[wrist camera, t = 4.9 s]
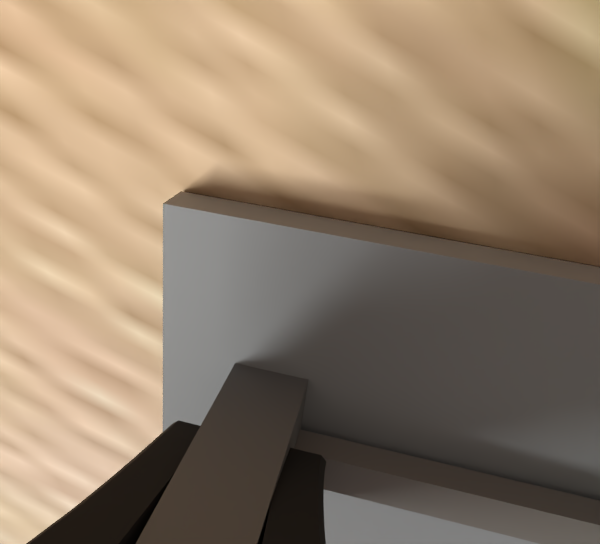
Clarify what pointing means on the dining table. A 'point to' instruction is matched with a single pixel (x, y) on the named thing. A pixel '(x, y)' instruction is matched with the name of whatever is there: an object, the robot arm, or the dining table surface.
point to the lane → (389, 348)
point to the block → (335, 477)
